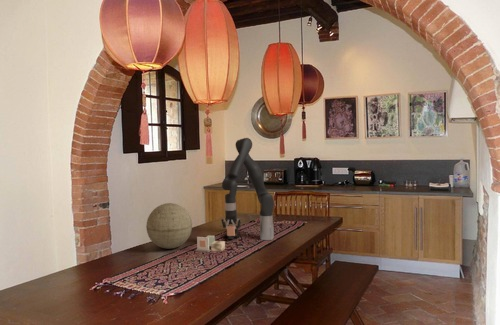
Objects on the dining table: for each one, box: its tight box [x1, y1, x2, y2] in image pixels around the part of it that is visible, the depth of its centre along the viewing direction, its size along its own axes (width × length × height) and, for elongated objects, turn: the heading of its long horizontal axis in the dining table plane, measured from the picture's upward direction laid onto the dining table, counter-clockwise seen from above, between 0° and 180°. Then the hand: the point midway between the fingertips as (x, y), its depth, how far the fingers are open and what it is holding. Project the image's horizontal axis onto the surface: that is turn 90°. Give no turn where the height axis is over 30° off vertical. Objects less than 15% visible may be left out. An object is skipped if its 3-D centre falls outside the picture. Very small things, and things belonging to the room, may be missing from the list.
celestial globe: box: [145, 202, 193, 250], centre depth 271 cm, size 30×30×30 cm
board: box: [195, 236, 212, 253], centre depth 262 cm, size 9×3×9 cm, turn 71°
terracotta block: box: [226, 224, 237, 237], centre depth 274 cm, size 5×5×6 cm
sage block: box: [206, 234, 216, 247], centre depth 278 cm, size 5×5×6 cm
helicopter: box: [216, 223, 246, 240], centre depth 302 cm, size 23×34×15 cm
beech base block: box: [210, 240, 226, 252], centre depth 265 cm, size 7×7×5 cm
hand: (231, 234), depth 274 cm, fingers closed on terracotta block, 5 cm apart
